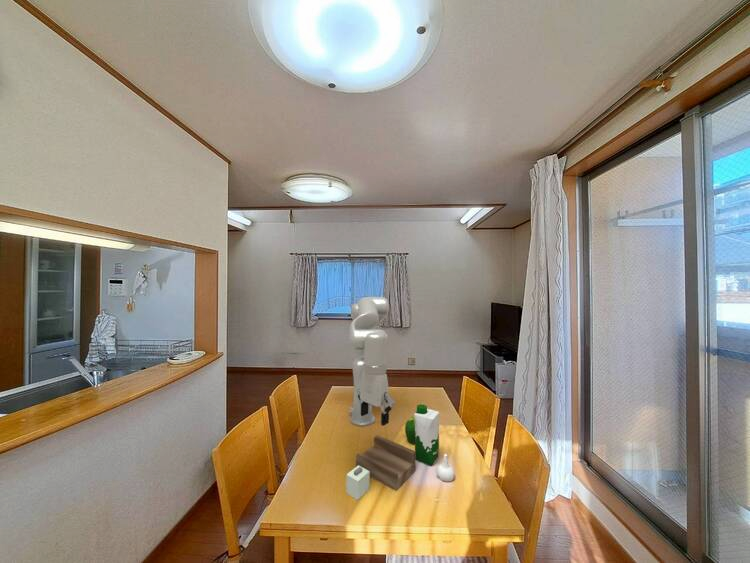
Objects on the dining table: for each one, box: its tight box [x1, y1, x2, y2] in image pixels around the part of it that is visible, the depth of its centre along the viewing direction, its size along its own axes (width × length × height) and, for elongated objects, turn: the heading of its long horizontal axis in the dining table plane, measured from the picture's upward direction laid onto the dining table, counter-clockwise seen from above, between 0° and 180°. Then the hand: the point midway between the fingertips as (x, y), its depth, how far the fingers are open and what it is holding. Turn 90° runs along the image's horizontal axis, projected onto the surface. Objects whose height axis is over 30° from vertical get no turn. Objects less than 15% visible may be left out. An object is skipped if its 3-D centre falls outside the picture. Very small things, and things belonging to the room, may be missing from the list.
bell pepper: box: [404, 415, 415, 445], centre depth 120 cm, size 8×8×10 cm
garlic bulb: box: [436, 453, 456, 482], centre depth 98 cm, size 6×6×8 cm
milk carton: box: [413, 404, 440, 467], centre depth 108 cm, size 9×9×20 cm
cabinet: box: [345, 465, 370, 501], centre depth 90 cm, size 5×6×7 cm
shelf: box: [355, 434, 417, 491], centre depth 101 cm, size 13×18×7 cm
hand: (374, 419), depth 93 cm, fingers open, 9 cm apart
